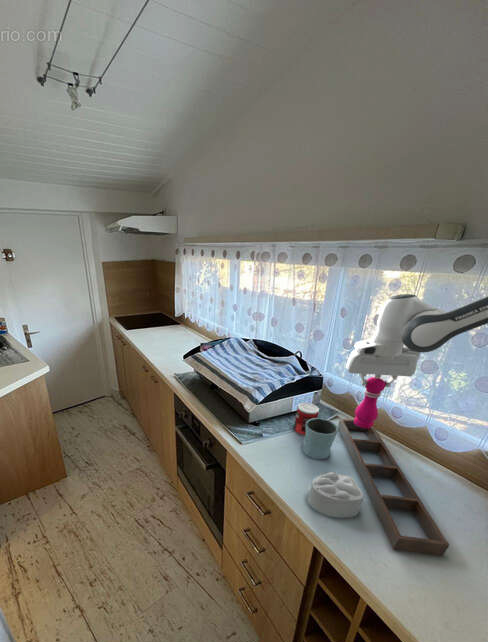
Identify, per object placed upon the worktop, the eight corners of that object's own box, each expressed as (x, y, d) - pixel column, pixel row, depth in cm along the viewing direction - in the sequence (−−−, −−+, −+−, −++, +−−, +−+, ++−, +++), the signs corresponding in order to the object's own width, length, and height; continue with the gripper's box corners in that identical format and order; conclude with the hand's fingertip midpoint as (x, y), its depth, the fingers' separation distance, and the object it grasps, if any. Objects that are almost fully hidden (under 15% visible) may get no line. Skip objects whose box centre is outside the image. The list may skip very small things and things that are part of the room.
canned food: (300, 423, 127) (304, 400, 122) (318, 432, 121) (323, 408, 116) (289, 430, 123) (293, 406, 117) (307, 439, 117) (312, 415, 112)
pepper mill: (374, 421, 113) (391, 372, 104) (373, 431, 108) (390, 380, 98) (353, 416, 116) (367, 368, 107) (351, 425, 111) (365, 375, 102)
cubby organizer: (366, 431, 121) (370, 421, 119) (441, 558, 74) (449, 545, 71) (337, 429, 123) (340, 418, 121) (391, 551, 75) (398, 538, 73)
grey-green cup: (328, 447, 113) (335, 419, 107) (332, 464, 104) (340, 435, 98) (299, 443, 115) (305, 416, 109) (301, 460, 106) (307, 431, 101)
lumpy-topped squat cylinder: (361, 519, 84) (370, 496, 80) (314, 519, 84) (320, 496, 80) (345, 491, 93) (352, 469, 89) (302, 491, 93) (307, 469, 89)
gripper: (417, 345, 99) (403, 383, 106) (350, 342, 102) (341, 380, 109) (427, 351, 94) (412, 391, 100) (355, 348, 97) (345, 387, 104)
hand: (374, 385), depth 105 cm, fingers closed on pepper mill, 6 cm apart
